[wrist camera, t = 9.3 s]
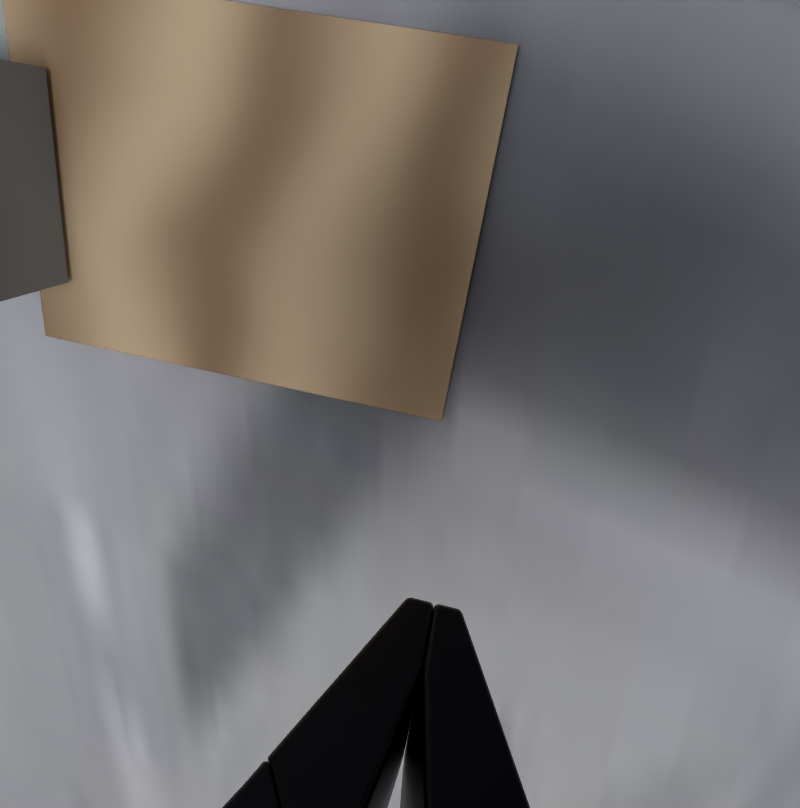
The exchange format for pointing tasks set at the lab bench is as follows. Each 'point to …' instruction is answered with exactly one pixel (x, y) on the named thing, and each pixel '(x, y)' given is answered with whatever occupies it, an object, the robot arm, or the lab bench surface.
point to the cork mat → (267, 189)
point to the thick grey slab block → (28, 185)
